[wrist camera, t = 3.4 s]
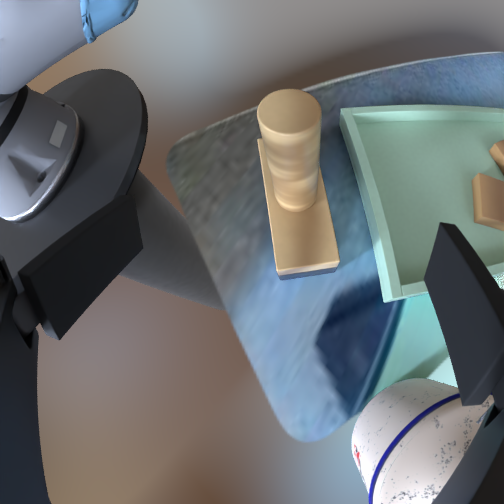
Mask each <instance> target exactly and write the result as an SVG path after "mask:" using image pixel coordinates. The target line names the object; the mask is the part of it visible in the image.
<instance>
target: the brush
mask: <svg viewBox="0 0 504 504" xmlns="http://www.w3.org/2000/svg"><path fill="white" fill-rule="evenodd" d="M321 117H322V111H321V107H320V104H319V103H318V101H317V100H316V99H315V98H314V97H313V96H312V95H310V94H309V93H307V92H305V91H302V90H297V89H282V90H278V91H275V92H272V93H271V94H269V95H267V96H266V97H265V98H264V99H263V100H262V101H261V102H260V104H259V106H258V109H257V118H258V122H259V126H260V130H261V135H262V138H260V139H258V147H259V153H260V159H261V166H262V173H263V179H264V186H265V193H266V199H267V206H268V213H269V220H270V227H271V234H272V241H273V248H274V256H275V263H276V270H277V273H278V275H279V278H280V280H287V279H294V278H300V277H307V276H313V275H320V274H326V273H332V272H335V270H336V268H337V266H338V264H339V262H340V257H339V252H338V247H337V242H336V237H335V232H334V227H333V222H332V217H331V213H330V208H329V203H328V199H327V195H326V190H325V186H324V182H323V178H322V173H321V169H320V165H319V158H320V139H321Z"/></svg>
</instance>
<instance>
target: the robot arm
mask: <svg viewBox="0 0 504 504" xmlns="http://www.w3.org/2000/svg"><path fill="white" fill-rule="evenodd" d="M137 5H138V0H0V217H2V218H4V219H6V220H8V221H10V222H12V223H23V222H26V221H28V220H30V219H32V218H34V217H35V216H36V215H38V214H39V213H40V212H41V211H43V210H44V209H45V208H46V207H47V206H48V205H49V204H50V203H51V201H52V200H53V199H54V198H55V197H56V195H57V194H58V193H59V191H60V190H61V189H62V187H63V186H64V184H65V183H66V181H67V179H68V178H69V176H70V174H71V172H72V170H73V168H74V166H75V164H76V162H77V160H78V157H79V154H80V151H81V148H82V144H83V139H84V124H83V121H82V119H81V117H80V116H79V115H78V114H77V113H76V112H75V111H74V110H73V108H71V107H70V106H68V105H67V104H64V103H62V102H56V101H54V100H53V99H51V98H49V97H47V96H45V95H43V94H40V93H38V92H36V91H33V90H31V89H30V88H29V87H28V86H27V85H26V84H27V83H28V82H30V81H31V80H32V79H34V78H35V77H36V76H38V75H39V74H40V73H42V72H43V71H45V70H46V69H47V68H49V67H50V66H52V65H53V64H55V63H56V62H58V61H59V60H61V59H62V58H64V57H65V56H67V55H69V54H70V53H72V52H74V51H75V50H77V49H78V48H80V47H82V46H83V45H85V44H87V43H92V42H94V41H95V40H96V38H97V37H98V36H99V35H101V34H103V33H104V32H106V31H107V30H109V29H111V28H113V27H115V26H116V25H118V24H120V23H122V22H123V21H125V20H127V19H128V18H129V17H130V16H131V15H132V14H133V13H134V11H135V9H136V7H137ZM142 249H143V244H142V239H141V233H140V228H139V222H138V216H137V210H136V204H135V198H134V195H120V196H119V197H117V198H116V199H114V200H112V201H111V202H109V203H108V204H107V205H105V206H104V207H102V208H101V209H99V210H98V211H96V212H95V213H93V214H92V215H90V216H89V217H88V218H86V219H85V220H83V221H82V222H81V223H79V224H78V225H76V226H75V227H74V228H72V229H71V230H70V231H68V232H67V233H66V234H64V235H63V236H62V237H60V238H59V239H58V240H56V241H55V242H54V243H52V244H51V245H50V246H49V247H47V248H46V249H45V250H43V251H42V252H41V253H40V254H38V255H37V256H36V257H35V258H33V259H32V260H31V261H30V262H29V263H27V264H26V265H25V266H24V267H23V268H21V269H20V270H19V271H18V272H17V273H18V274H17V275H16V276H15V277H14V278H13V279H12V277H11V274H10V272H9V269H8V267H7V264H6V262H5V259H4V257H3V256H2V255H0V504H51V502H50V500H49V497H48V492H47V487H46V482H45V476H44V470H43V463H42V455H41V446H40V436H39V424H38V405H37V359H38V357H37V356H38V340H39V335H38V331H37V330H36V328H35V327H36V326H37V325H38V324H39V323H41V325H42V328H43V329H44V331H45V333H46V335H48V336H50V337H52V338H55V339H57V340H60V339H61V338H62V337H63V336H64V335H65V333H66V332H67V331H68V330H69V329H70V328H71V326H72V325H73V324H74V323H75V322H76V321H77V319H78V318H79V317H80V316H81V315H82V314H83V313H84V311H85V310H86V309H87V308H88V307H89V306H90V305H91V304H92V302H93V301H94V300H95V299H96V298H97V297H98V296H99V295H100V294H101V292H102V291H103V290H104V289H105V288H106V287H107V286H108V285H109V284H110V283H111V281H112V280H113V279H114V278H115V277H116V276H117V275H118V274H119V273H120V272H121V271H122V270H123V269H124V268H125V267H126V266H127V265H128V264H129V263H130V261H131V260H132V259H133V258H134V257H135V256H136V255H137V254H138V253H139V252H140V251H141V250H142ZM424 282H425V284H426V287H427V289H428V292H429V295H430V297H431V300H432V303H433V306H434V309H435V311H436V314H437V317H438V320H439V323H440V326H441V329H442V332H443V335H444V339H445V342H446V345H447V348H448V352H449V355H450V359H451V362H452V365H453V370H454V373H455V377H456V381H457V385H458V389H459V394H460V398H461V402H462V406H473V405H482V404H483V402H484V401H485V400H486V399H487V398H488V396H489V395H490V394H491V393H492V395H493V398H494V403H493V404H492V405H491V406H490V407H489V408H488V410H487V411H486V412H485V413H484V414H483V415H482V416H481V417H480V418H479V420H478V421H477V422H476V423H478V424H479V423H480V422H481V421H482V420H483V421H482V423H481V425H480V427H479V429H478V431H477V433H476V435H475V437H474V438H473V440H472V442H471V444H470V446H469V447H468V449H467V451H466V453H465V454H464V456H463V458H462V459H461V461H460V463H459V464H458V466H457V467H456V469H455V470H454V472H453V474H452V475H451V477H450V478H449V480H448V481H447V483H446V484H445V485H444V487H443V488H442V490H441V491H440V492H439V494H438V495H437V497H436V498H435V499H434V501H433V502H432V503H431V504H504V290H503V289H500V287H499V286H498V284H497V283H496V281H495V280H494V278H493V276H492V275H491V273H490V272H489V270H488V269H487V267H486V266H485V264H484V263H483V261H482V260H481V259H480V257H479V256H478V254H477V253H476V251H475V250H474V249H473V247H472V246H471V244H470V243H469V242H468V240H467V239H466V238H465V236H464V235H463V234H462V232H461V231H460V230H459V228H458V227H457V226H456V225H455V224H450V223H443V222H440V223H439V227H438V231H437V235H436V239H435V242H434V246H433V249H432V253H431V256H430V260H429V263H428V266H427V269H426V272H425V276H424Z"/></svg>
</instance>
